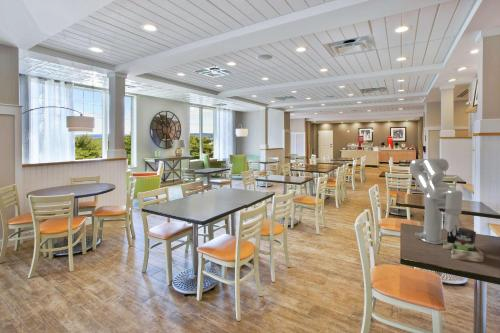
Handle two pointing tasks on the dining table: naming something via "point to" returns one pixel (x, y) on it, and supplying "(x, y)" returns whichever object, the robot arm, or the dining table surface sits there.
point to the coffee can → (464, 240)
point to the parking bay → (465, 253)
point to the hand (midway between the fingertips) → (450, 242)
